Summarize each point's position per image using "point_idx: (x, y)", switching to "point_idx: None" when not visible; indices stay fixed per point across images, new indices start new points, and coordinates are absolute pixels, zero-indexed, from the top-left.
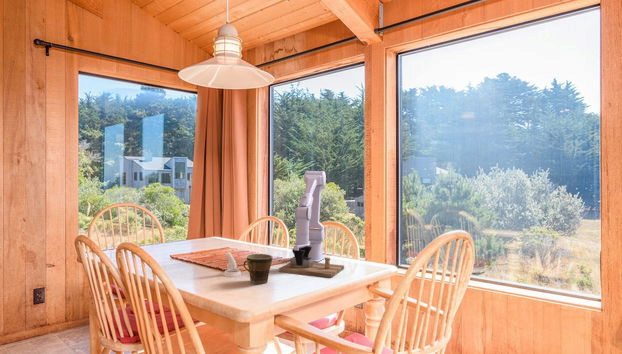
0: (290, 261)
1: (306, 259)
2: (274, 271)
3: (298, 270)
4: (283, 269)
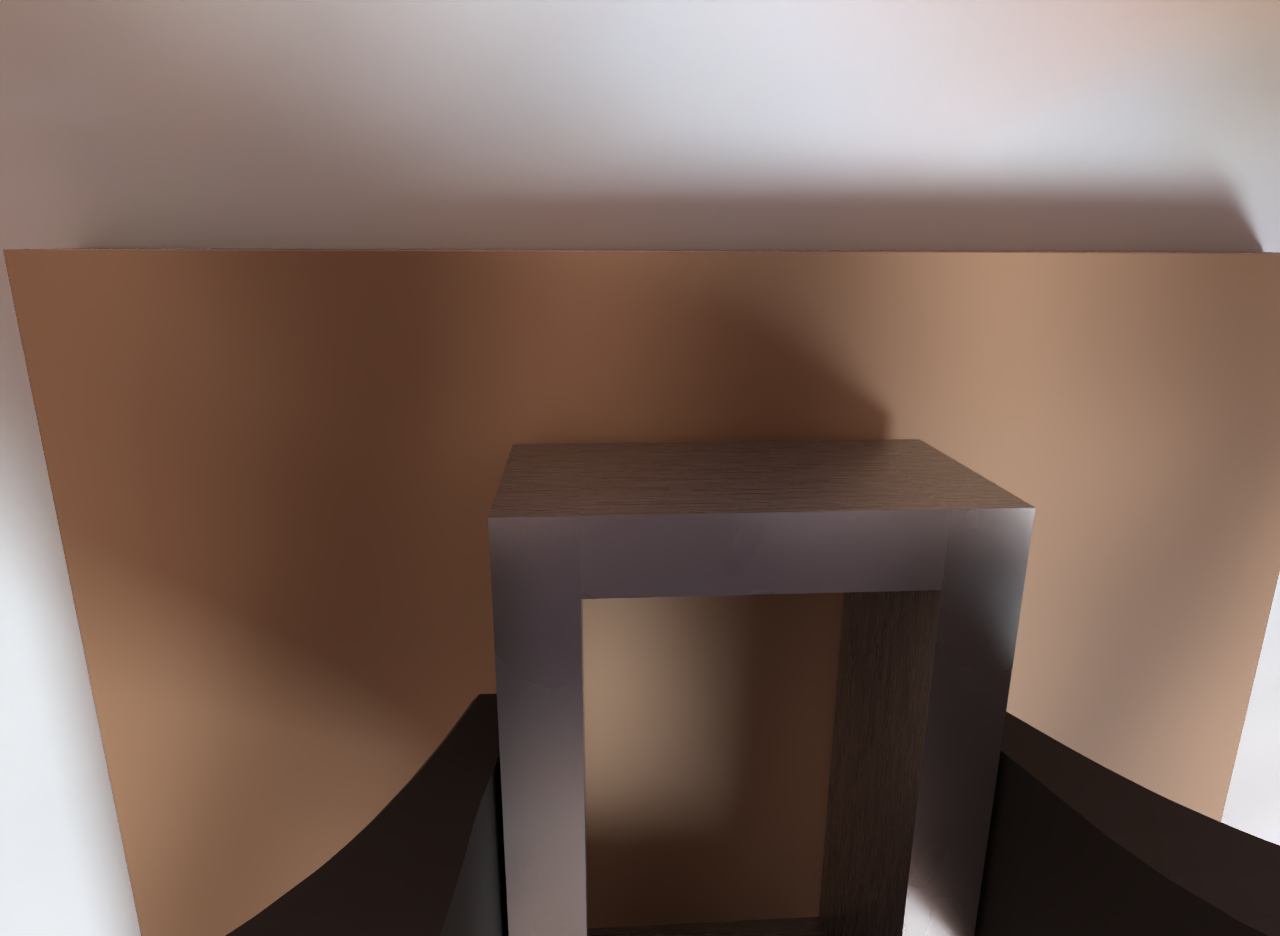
0: (504, 489)
1: (877, 911)
2: (23, 104)
3: (127, 862)
4: (51, 418)
